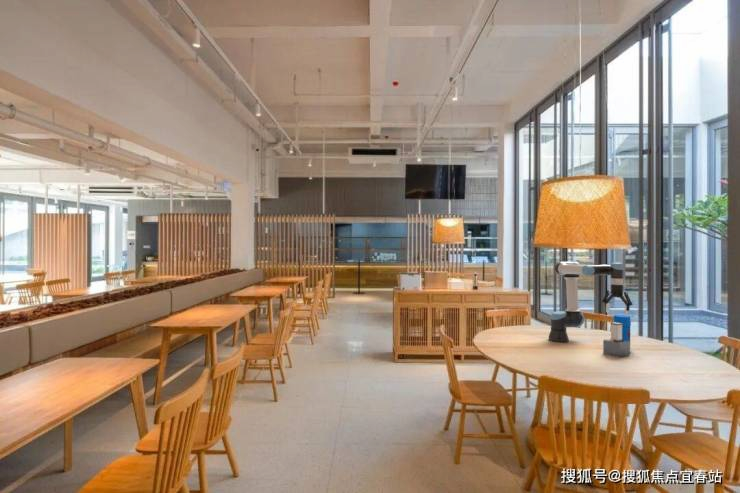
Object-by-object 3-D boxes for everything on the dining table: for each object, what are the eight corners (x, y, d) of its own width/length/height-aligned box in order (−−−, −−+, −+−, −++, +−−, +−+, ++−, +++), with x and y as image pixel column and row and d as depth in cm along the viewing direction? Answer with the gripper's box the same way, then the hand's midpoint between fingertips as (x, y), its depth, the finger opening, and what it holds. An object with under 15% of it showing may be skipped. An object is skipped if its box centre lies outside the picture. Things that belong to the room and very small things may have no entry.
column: (610, 353, 299) (610, 322, 298) (614, 352, 302) (615, 322, 301) (617, 355, 294) (617, 324, 294) (622, 354, 297) (622, 323, 297)
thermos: (625, 347, 318) (625, 314, 318) (633, 350, 307) (633, 317, 307) (610, 346, 319) (611, 314, 319) (617, 350, 309) (617, 317, 308)
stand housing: (603, 353, 300) (603, 338, 300) (613, 351, 306) (613, 336, 306) (620, 357, 290) (620, 341, 290) (629, 355, 296) (629, 339, 295)
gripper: (597, 283, 306) (597, 311, 306) (632, 286, 285) (632, 316, 285) (603, 282, 310) (603, 310, 310) (638, 285, 288) (638, 315, 288)
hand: (616, 313), depth 297 cm, fingers open, 13 cm apart
